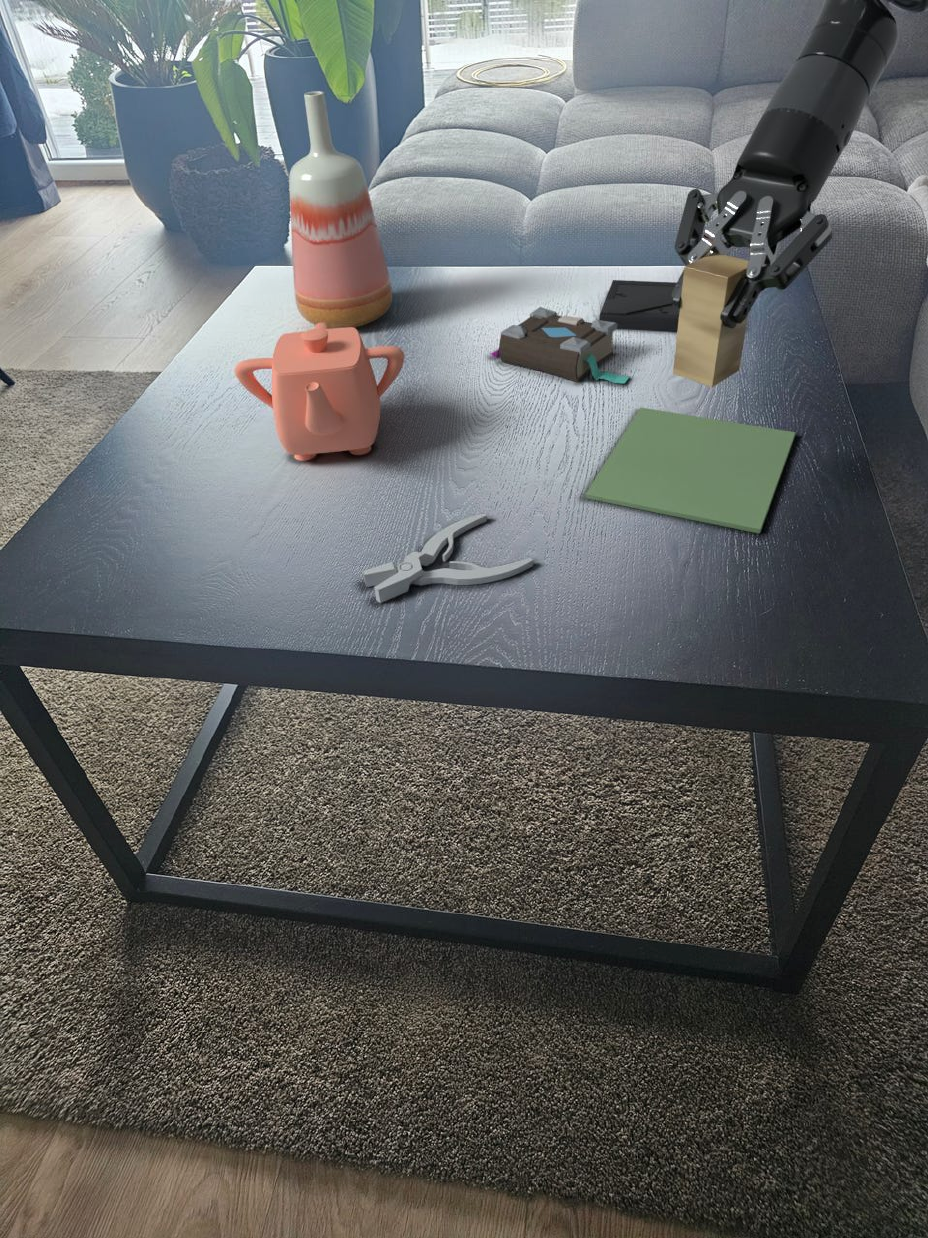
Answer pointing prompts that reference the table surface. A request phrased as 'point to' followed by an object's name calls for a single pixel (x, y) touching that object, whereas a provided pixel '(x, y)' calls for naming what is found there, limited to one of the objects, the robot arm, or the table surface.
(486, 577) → the pliers
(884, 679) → the table surface
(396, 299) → the table surface
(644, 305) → the picture frame
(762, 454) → the mat
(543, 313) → the book
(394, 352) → the teapot
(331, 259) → the vase
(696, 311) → the block
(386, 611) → the table surface
